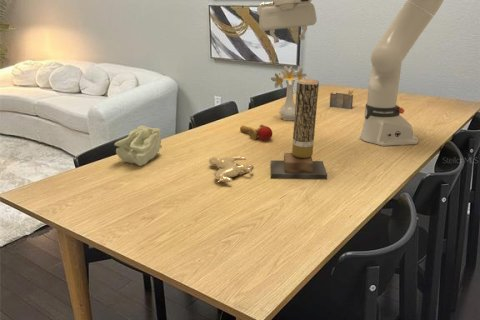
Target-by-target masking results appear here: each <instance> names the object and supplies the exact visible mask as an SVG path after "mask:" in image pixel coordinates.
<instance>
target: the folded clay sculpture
mask: <svg viewBox="0 0 480 320" xmlns="http://www.w3.org/2000/svg"><path fill="white" fill-rule="evenodd" d="M161 132H162V131H161V129H160V128H157V127H154V128H152V127H148V126H145V125H143V124H142V125H139V126H138V127H137V128H135V129H132V130H130V131H129V133H128V135H127V136H126V137H125V138H122V139H119V140H118V141H116V142H115V143H114V144H113V145H114V146H115V147H116V149H115V153H116V155H117V156H118V158H119V159H120V160H121V161H122V162H123V163H130V164H135V165H137V166H139V167H142V166H145V165H146V164H147V163H148V162H149V161H150V160H153V158H154V157H156V156H157V155H158V152H160V149H161V148H162V147H163V146H162V138H161V137H162V136H161Z"/></svg>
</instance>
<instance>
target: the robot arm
mask: <svg viewBox="0 0 480 320" xmlns="http://www.w3.org/2000/svg"><path fill="white" fill-rule="evenodd" d="M312 1H313V0H272V1H270V2H269V1H268V2H262V3H260V4H258V6H257V9H256V12H257V15H258V19H259V21H258V22H259V23H258V24H259V25H258V26H259V30H260V31H262V32H265V31H269V34H270V36H271V37H272V38H273V43H274V44H276V43H277V44H278V43H280V40H279V36H276V34H275V32H276V31H275V30H282V29H289V28H290V29H291V28H292V29H293V28H299V27H301V30H302V33H301V34H299V41H302V40H305V39H306V36H305V34H306V33H307V29H308V26H314V25H315V24H316V23H317V14H316V13H317V12H316V9H315V5H314V3H312ZM443 3H444V0H406V1H405V3H404V4H403V6H402V7H401V9H400V10H399V11H398V13H397V14H396V16H395V17H394V19H393V20H392V21H391V23H390V24H389V26H388V28H387V30H386V31H385V32H384V34H383V35H382V37H381V38H380V40H379V41H378V42H377V44H376V45H375V46H374V48H373V50H372V52H371V55H370V62H371V70H370V77H369V82H368V91H367V102H366V103H365V108H364V122H363V125H362V129H361V133H360V135H359V139H361V140H362V141H365V142H367V143H371V144H376V145H379V146H383V147H385V146H386V147H387V146H403V145H404V146H407V145H417V144H418V143H419V138H418V137H417V136H416V135H415V134H414V130H413V126H412V124H411V123H410V122H409V121H407V119H405V118H404V117H403V116H402V114H404V113H405V109H404V108H403V107H400V106H399V105H397V101H398V93H399V85H400V79H401V78H400V77H401V69H402V64H403V63H402V62H403V61H404V60H405V58H406V57H407V55H408V53H409V52H410V51H411V49H412V48H413V46H414V44H416V43H417V40H418V39H419V37H420V36H421V34H422V33H423V32H424V30H425V29H426V28H427V26H428V25H429V23H430V22H431V20H433V18H434V16H435V15H436V14H437V12H438V11H439V9H440V8H441V6H442V5H443Z"/></svg>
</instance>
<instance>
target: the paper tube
mask: <svg viewBox="0 0 480 320" xmlns="http://www.w3.org/2000/svg"><path fill="white" fill-rule="evenodd" d="M319 83H320V81H319V80H317V79H311V78H305V79H304V78H302V79H299V80H296V90H295V91H296V93H295V103H294V104H295V118H294V120H293V122H294V123H293V134H292V135H293V137H292V151H291V153H292V154H293V155H294V156H295V157H298V158H309V157H312V156H313V153H314V152H313V151H314V142H315V140H314V139H315V129H316V121H317V120H316V118H317V107H318V98H319V96H318V95H319V87H320V86H319V85H320V84H319Z"/></svg>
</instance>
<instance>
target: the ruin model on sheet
mask: <svg viewBox="0 0 480 320" xmlns="http://www.w3.org/2000/svg"><path fill="white" fill-rule="evenodd" d="M353 93H354V90H348V92H347V93H341V92H335V93H333V92H330V93H329V94H330V96H329V108H338V109H346V110H351V109H353V104H354V103H353V101H354V94H353Z"/></svg>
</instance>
